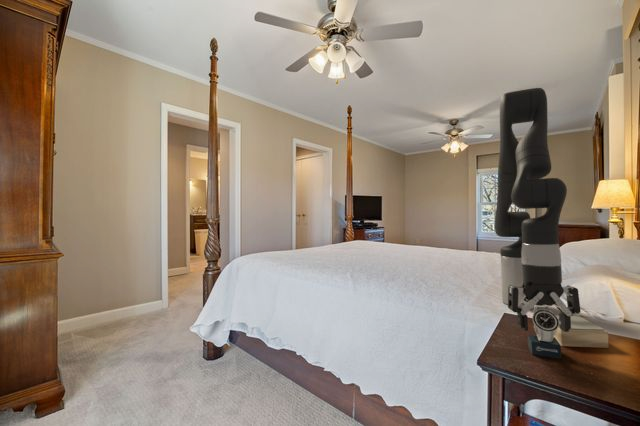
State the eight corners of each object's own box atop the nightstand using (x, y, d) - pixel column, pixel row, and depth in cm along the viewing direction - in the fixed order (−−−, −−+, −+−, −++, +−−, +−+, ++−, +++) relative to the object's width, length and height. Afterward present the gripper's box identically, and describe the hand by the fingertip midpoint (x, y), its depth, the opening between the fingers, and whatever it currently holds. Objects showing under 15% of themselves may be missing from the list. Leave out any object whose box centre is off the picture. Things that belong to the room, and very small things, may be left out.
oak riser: (539, 329, 82) (538, 314, 82) (579, 331, 80) (579, 315, 80) (561, 346, 72) (561, 328, 72) (608, 347, 70) (607, 330, 70)
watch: (533, 358, 67) (532, 311, 67) (526, 343, 74) (524, 300, 74) (564, 363, 65) (562, 313, 65) (553, 347, 72) (551, 303, 72)
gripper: (564, 259, 72) (567, 325, 71) (501, 259, 74) (504, 323, 74) (586, 264, 64) (589, 337, 64) (515, 265, 67) (518, 335, 67)
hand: (543, 329), depth 69 cm, fingers open, 8 cm apart
